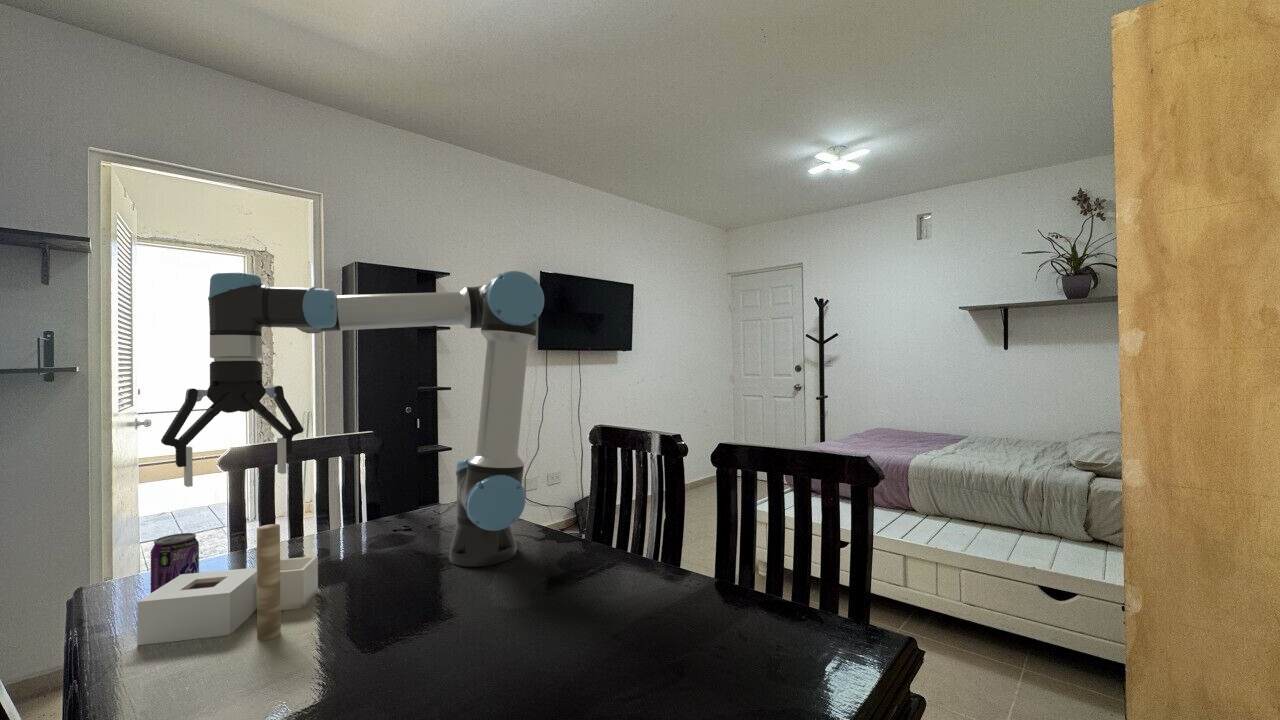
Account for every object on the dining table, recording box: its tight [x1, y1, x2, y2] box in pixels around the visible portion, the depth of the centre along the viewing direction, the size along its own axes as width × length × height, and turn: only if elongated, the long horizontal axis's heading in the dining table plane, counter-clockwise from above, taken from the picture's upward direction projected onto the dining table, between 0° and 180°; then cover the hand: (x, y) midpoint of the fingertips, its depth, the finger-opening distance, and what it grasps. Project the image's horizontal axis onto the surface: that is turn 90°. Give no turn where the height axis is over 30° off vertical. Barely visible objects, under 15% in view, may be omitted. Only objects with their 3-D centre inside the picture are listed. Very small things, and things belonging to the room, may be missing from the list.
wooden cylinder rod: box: [256, 523, 282, 641], centre depth 90 cm, size 3×3×18 cm
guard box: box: [136, 567, 257, 646], centre depth 94 cm, size 13×12×7 cm
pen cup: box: [280, 555, 319, 611], centre depth 103 cm, size 8×8×7 cm
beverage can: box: [150, 532, 200, 594], centre depth 104 cm, size 7×7×12 cm
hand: (237, 479), depth 96 cm, fingers open, 13 cm apart
